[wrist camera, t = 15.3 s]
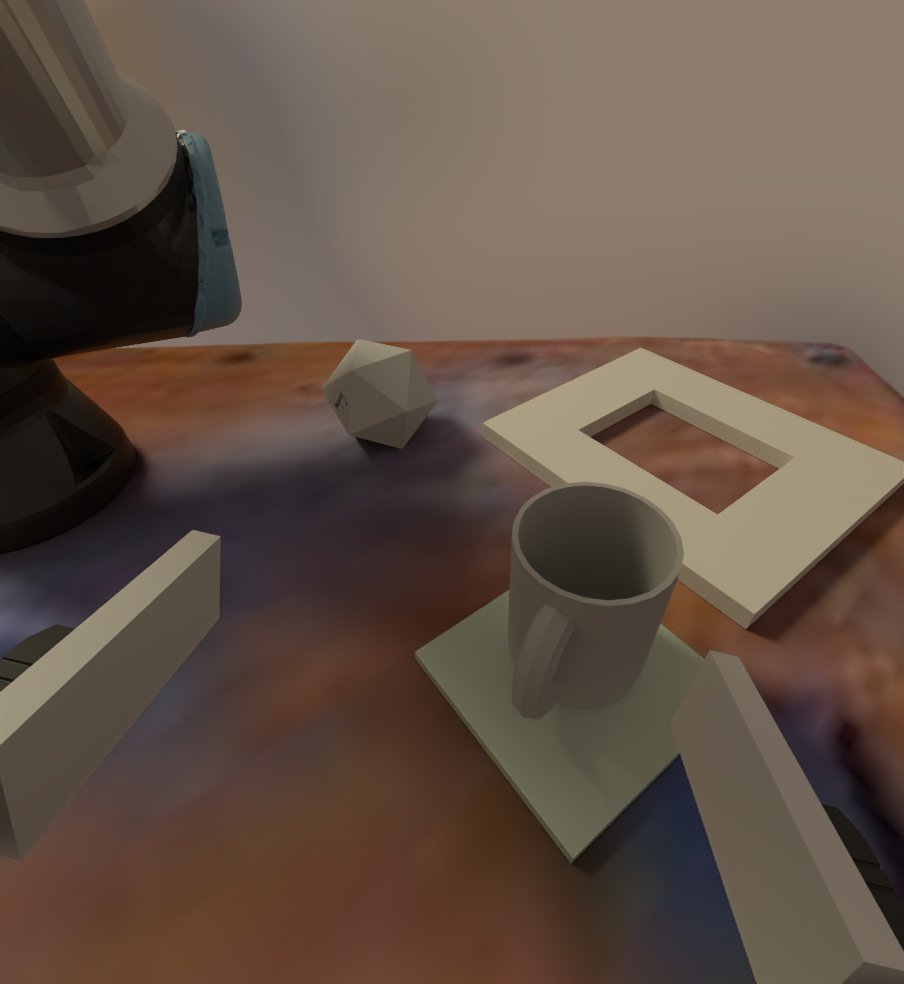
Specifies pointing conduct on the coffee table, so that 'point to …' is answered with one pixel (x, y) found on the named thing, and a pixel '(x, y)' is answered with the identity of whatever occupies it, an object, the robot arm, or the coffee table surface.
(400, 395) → the die
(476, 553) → the coffee table surface
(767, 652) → the coffee table surface
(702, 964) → the coffee table surface
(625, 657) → the cup
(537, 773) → the coaster
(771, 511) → the beige flat frame
